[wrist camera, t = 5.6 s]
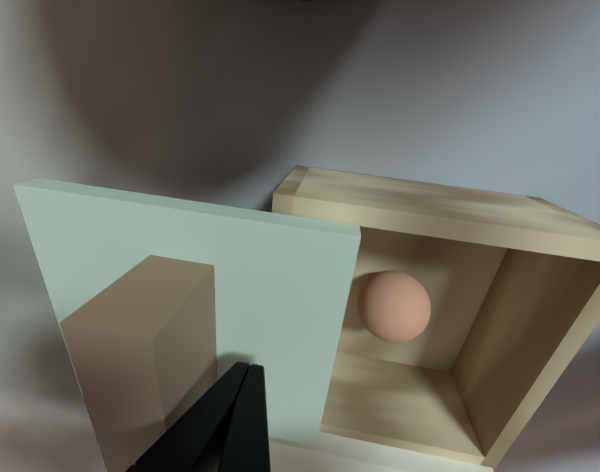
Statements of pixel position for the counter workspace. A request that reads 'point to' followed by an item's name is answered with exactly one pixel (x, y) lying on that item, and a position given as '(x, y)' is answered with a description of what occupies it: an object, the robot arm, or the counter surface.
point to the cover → (188, 305)
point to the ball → (393, 306)
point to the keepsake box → (454, 309)
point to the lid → (357, 457)
